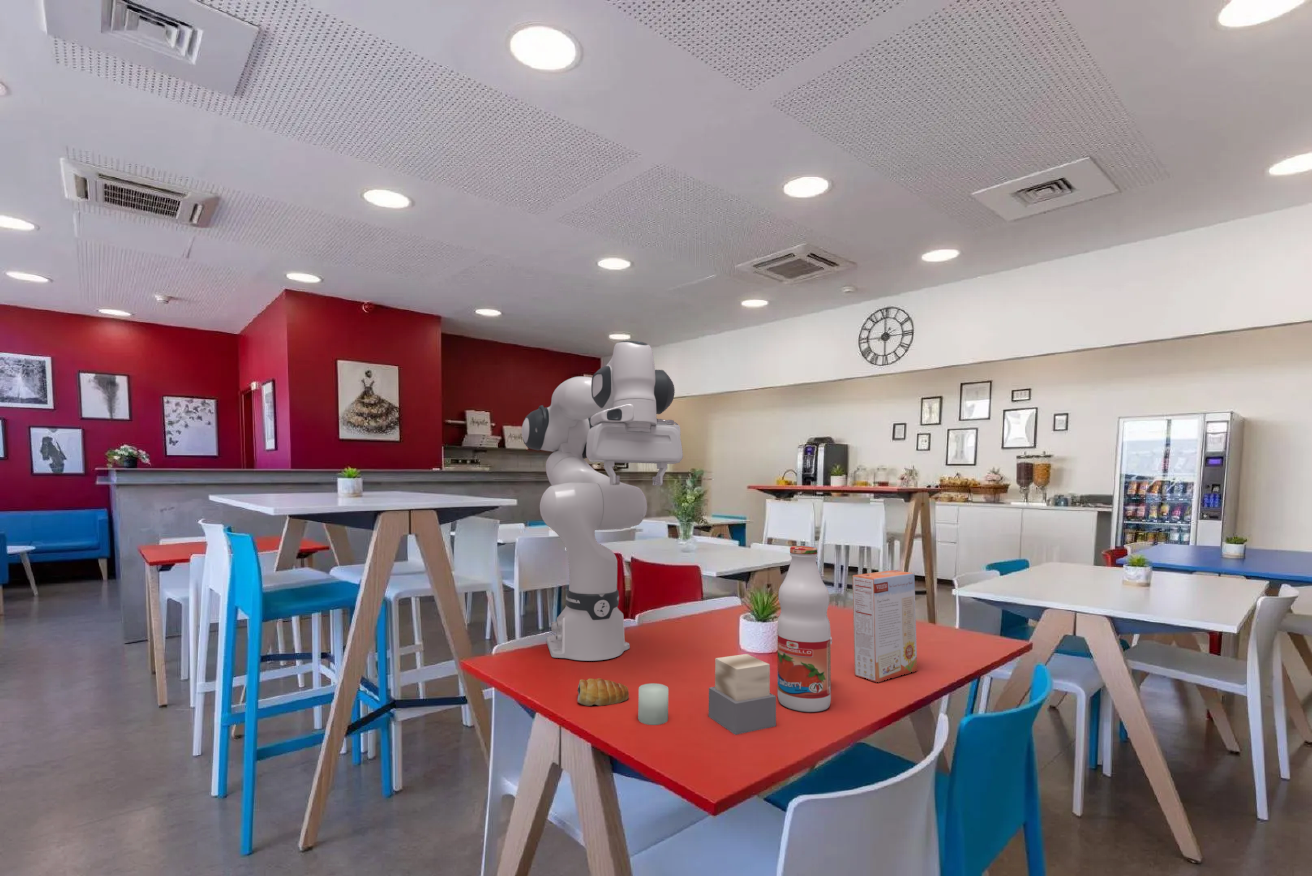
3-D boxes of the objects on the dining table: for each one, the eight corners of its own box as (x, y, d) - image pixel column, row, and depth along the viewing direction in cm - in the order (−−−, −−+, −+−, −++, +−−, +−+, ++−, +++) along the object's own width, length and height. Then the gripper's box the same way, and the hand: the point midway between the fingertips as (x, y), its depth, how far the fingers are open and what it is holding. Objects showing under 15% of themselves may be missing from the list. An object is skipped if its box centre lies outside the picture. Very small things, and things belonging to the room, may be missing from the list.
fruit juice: (840, 703, 108) (839, 547, 110) (813, 718, 102) (812, 551, 104) (795, 690, 115) (795, 543, 117) (767, 702, 108) (767, 546, 110)
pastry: (625, 692, 113) (626, 672, 113) (631, 706, 106) (631, 684, 107) (575, 695, 111) (576, 674, 111) (578, 709, 104) (578, 687, 105)
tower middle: (715, 688, 102) (715, 658, 102) (746, 683, 105) (746, 653, 105) (736, 701, 96) (737, 669, 96) (769, 695, 99) (769, 664, 99)
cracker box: (893, 665, 132) (892, 569, 133) (918, 672, 127) (916, 572, 128) (851, 675, 124) (851, 573, 126) (876, 684, 119) (875, 577, 121)
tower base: (708, 717, 102) (708, 687, 102) (747, 710, 105) (747, 681, 105) (735, 736, 94) (735, 703, 95) (775, 727, 98) (775, 696, 98)
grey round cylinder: (633, 716, 101) (633, 685, 102) (659, 711, 104) (660, 681, 104) (646, 727, 97) (646, 695, 97) (673, 722, 99) (673, 691, 99)
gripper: (672, 423, 129) (674, 486, 127) (582, 417, 120) (583, 486, 118) (686, 417, 124) (689, 484, 122) (594, 411, 115) (595, 483, 113)
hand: (636, 485), depth 120 cm, fingers open, 8 cm apart
